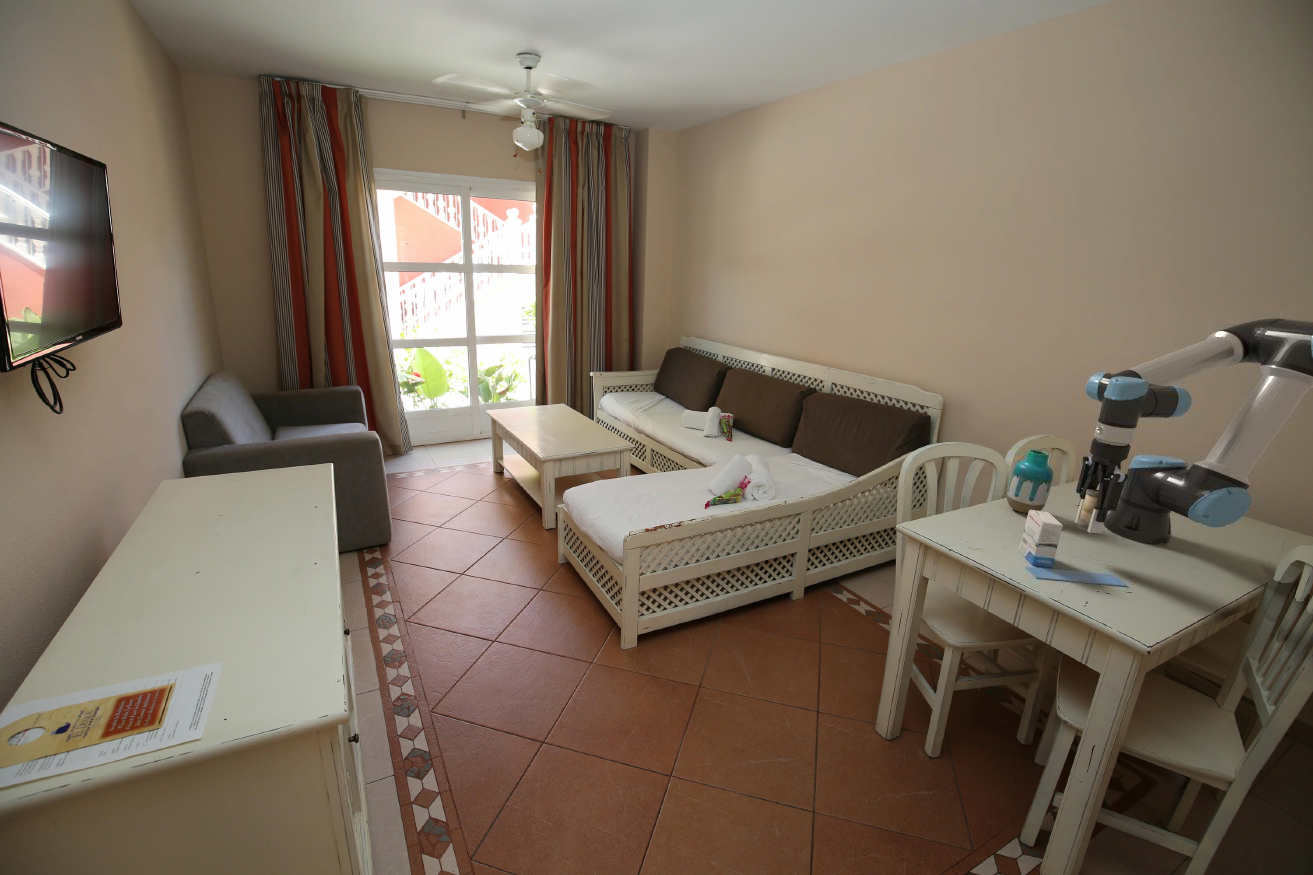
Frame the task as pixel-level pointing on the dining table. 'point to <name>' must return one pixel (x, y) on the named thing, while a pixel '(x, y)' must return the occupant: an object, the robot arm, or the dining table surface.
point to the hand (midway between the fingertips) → (1087, 527)
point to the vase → (1030, 482)
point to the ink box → (1040, 538)
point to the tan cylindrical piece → (1088, 509)
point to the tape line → (1076, 576)
